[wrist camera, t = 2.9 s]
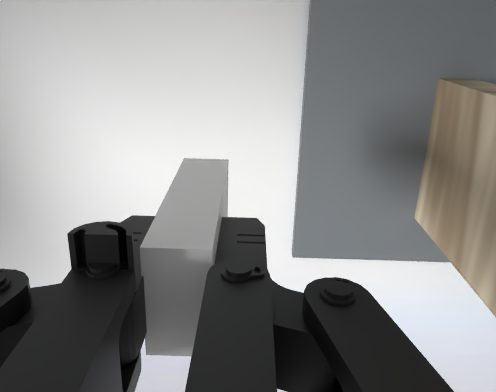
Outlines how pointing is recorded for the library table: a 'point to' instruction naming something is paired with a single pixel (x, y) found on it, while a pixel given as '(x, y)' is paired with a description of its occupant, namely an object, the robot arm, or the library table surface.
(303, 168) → the mat
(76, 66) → the library table surface
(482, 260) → the tile
